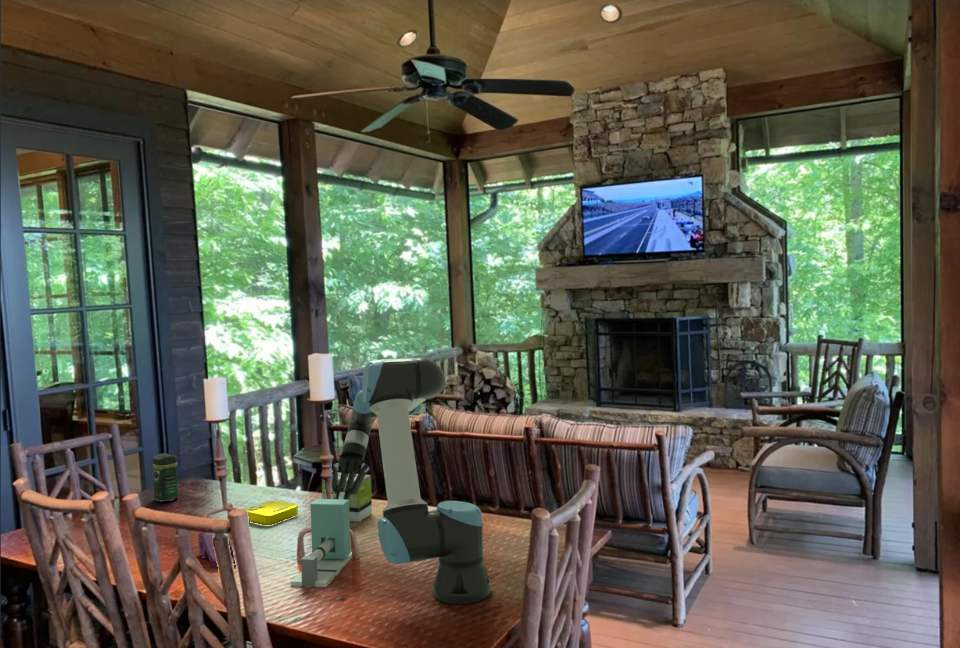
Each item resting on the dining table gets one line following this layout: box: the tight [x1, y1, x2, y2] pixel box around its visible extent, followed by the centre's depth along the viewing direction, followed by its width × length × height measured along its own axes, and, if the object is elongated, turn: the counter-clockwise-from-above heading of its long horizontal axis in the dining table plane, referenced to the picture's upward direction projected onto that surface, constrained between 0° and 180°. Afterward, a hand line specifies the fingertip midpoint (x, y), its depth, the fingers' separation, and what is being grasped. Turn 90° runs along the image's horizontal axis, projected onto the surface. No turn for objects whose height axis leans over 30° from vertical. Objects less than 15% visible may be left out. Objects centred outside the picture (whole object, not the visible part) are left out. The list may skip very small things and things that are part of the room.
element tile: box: [244, 499, 299, 525], centre depth 245 cm, size 15×15×5 cm
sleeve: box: [309, 498, 351, 559], centre depth 201 cm, size 5×10×16 cm, turn 82°
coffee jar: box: [152, 452, 179, 500], centre depth 272 cm, size 10×8×19 cm
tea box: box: [321, 471, 373, 523], centre depth 244 cm, size 15×10×15 cm
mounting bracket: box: [197, 532, 235, 568], centre depth 207 cm, size 9×8×18 cm
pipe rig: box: [290, 537, 353, 588], centre depth 196 cm, size 24×10×8 cm, turn 172°
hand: (338, 513), depth 209 cm, fingers closed
